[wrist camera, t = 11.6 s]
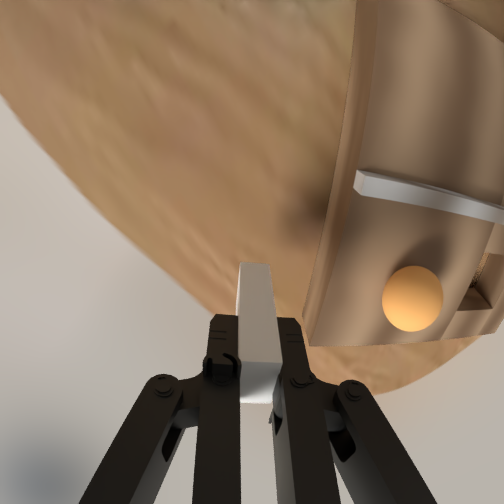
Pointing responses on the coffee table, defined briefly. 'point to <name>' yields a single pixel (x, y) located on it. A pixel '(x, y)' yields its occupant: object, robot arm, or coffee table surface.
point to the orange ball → (412, 298)
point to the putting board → (414, 177)
